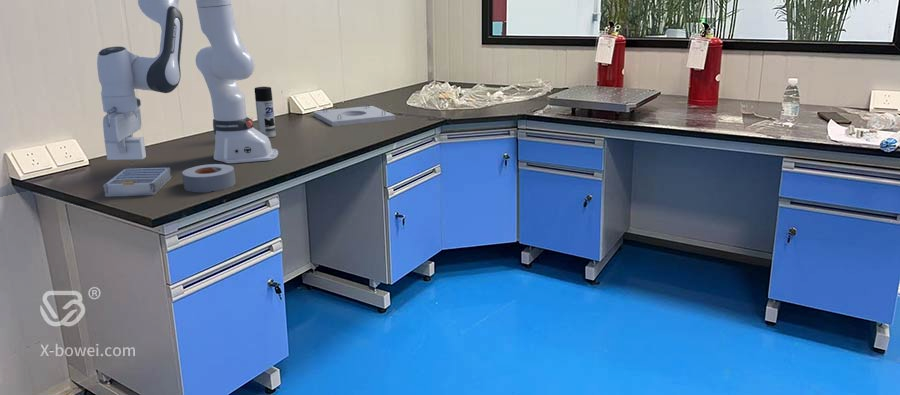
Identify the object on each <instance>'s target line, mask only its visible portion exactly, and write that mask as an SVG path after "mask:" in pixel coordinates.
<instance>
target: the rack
mask: <svg viewBox="0 0 900 395" xmlns="http://www.w3.org/2000/svg"><path fill="white" fill-rule="evenodd" d="M172 179H173V177H172V169H171V167H149V168H148V167H147V168H145V167H144V168H143V167H141V168H123V170H121V171H120V172H118V173H117V174H116V175H115V176H113V177H112V178H111V179H110V180H109V181H107V182H106V183H104V184H103V186H102V187H103V191H104V197H106V198H107V197H108V198H109V197H131V196H132V197H135V196H136V197H138V196H140V197H141V196H142V197H143V196H155V195H157V193H158V192H160V190H161V189H162V188H164V186H166V185H167V183H168V182H169V181H170V180H172Z"/></svg>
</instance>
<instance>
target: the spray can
mask: <svg viewBox="0 0 900 395" xmlns="http://www.w3.org/2000/svg"><path fill="white" fill-rule="evenodd" d="M254 99H255V108H256V119H257V127H258V128H257V130H258V131H259V132H261V133H262V134H264V135H266V136H267V137H268V138H269V139H271V138H275V137H276V136H277V134H276V122H275V121H276V120H275V111H274V103H273V102H274V100H273V92H272V87H270V86H256V87H255V88H254Z"/></svg>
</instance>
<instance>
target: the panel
mask: <svg viewBox="0 0 900 395" xmlns="http://www.w3.org/2000/svg"><path fill="white" fill-rule="evenodd" d="M103 141H104V147H105V153H106V158H107V161H112V160H115V161H117V160H118V161H119V160H144V159H145V158H147V155H146V154H147V153H146V146H145V145H146V144H145V139H144V136H133V137H126V138H125V146H126V147H127V152H126V153H125V154H121V153H119V148H118V146H117V144H116V143H107V142H106V141H105V139H104V140H103Z"/></svg>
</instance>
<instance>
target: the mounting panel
mask: <svg viewBox="0 0 900 395" xmlns="http://www.w3.org/2000/svg"><path fill="white" fill-rule="evenodd" d="M312 113H313V114H312V115H313V117H314V118H317V119H318V120H320V121H322V122H324V123H325V124H327V125H329V126H332V127H338V126H339V127H341V126H349V125H358V124H369V123H376V122H378V123H379V122H387V121H395V120H396V114H393V113H391V112H389V111H386V110H385V109H381V108H379V107H376V106H374V105H370V104H369V103H366V104H365V106H356V107H346V108H344V107H343V108H335V109H328V108H327V107H325V106H324V108H323V110H314V111H312Z"/></svg>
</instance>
